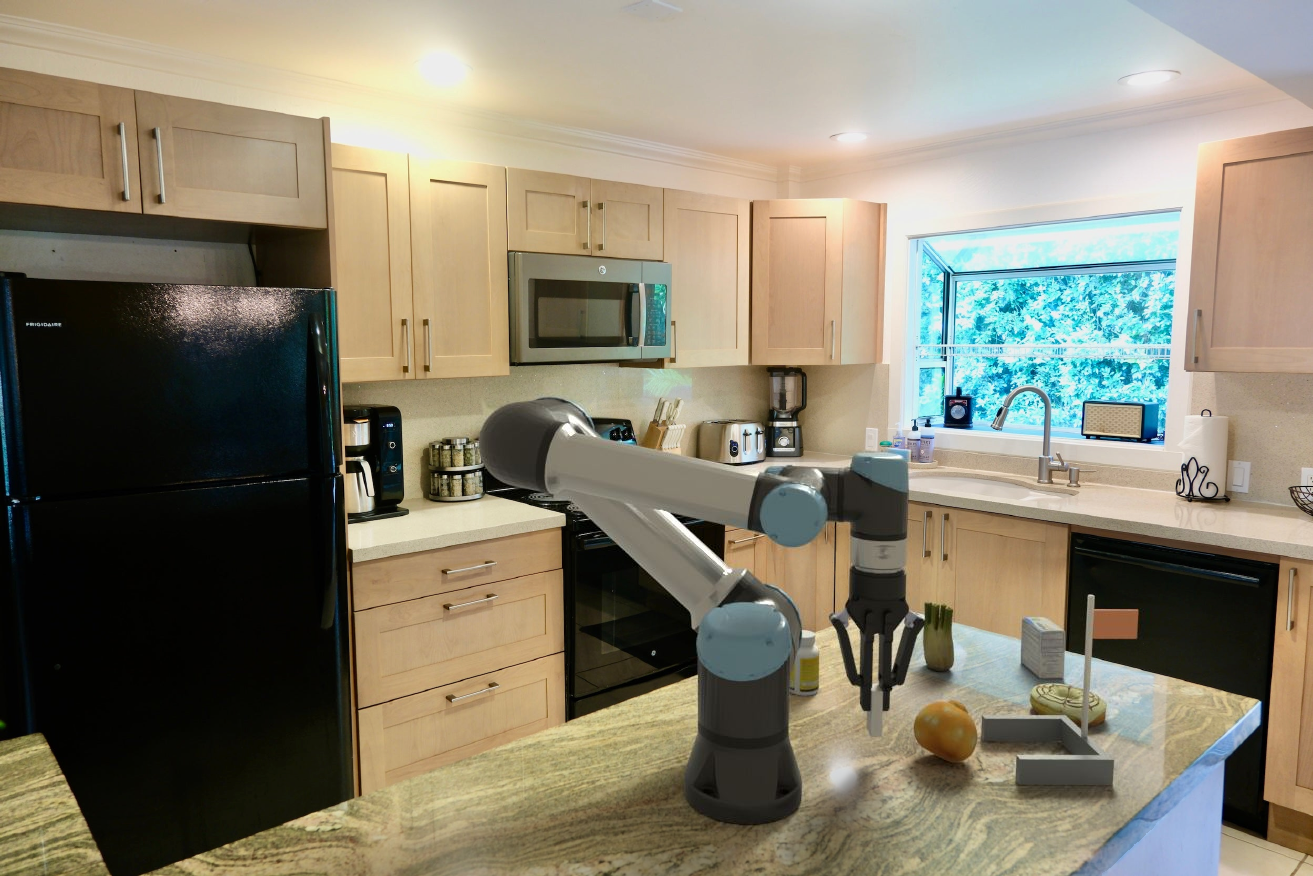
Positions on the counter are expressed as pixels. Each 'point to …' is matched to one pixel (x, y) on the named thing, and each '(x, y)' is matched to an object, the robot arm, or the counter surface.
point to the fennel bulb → (938, 636)
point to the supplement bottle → (805, 667)
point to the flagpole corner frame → (1065, 721)
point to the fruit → (946, 730)
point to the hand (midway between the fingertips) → (874, 732)
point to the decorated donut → (1066, 702)
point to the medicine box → (1043, 647)
